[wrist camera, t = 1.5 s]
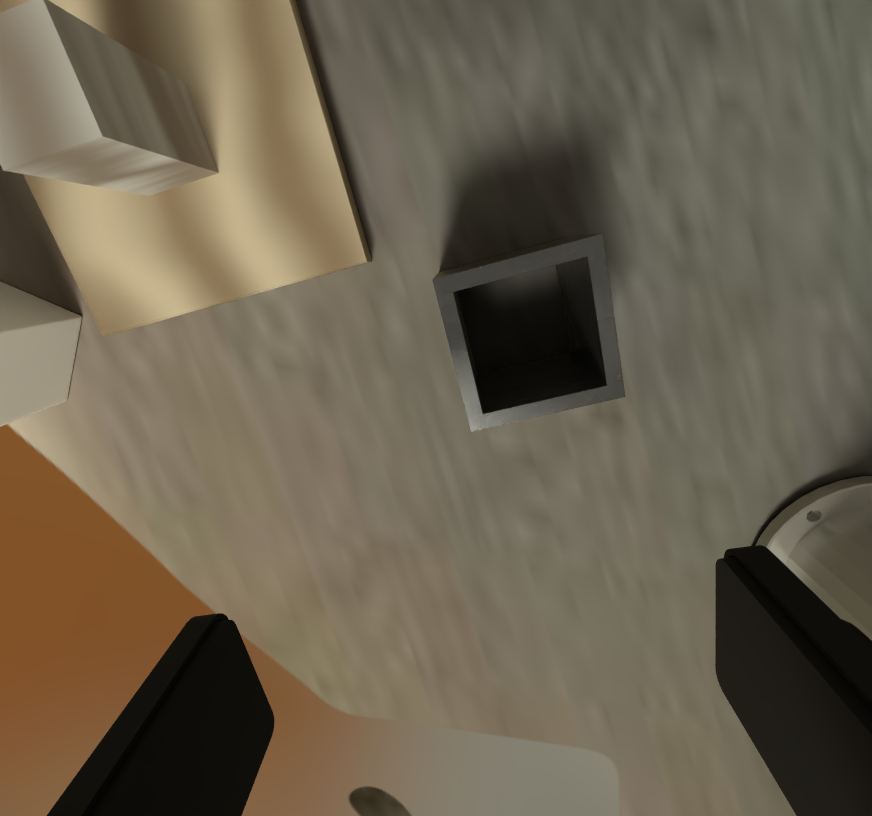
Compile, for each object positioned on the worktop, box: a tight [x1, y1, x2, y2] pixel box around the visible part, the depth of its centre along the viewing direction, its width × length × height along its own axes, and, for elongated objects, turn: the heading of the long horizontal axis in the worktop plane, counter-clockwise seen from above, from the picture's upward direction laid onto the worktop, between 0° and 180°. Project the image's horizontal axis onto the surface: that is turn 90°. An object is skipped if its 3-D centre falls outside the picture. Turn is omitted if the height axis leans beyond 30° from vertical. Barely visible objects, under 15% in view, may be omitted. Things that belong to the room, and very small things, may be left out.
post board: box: [0, 0, 372, 336], centre depth 20 cm, size 16×16×10 cm
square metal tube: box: [433, 234, 625, 431], centre depth 23 cm, size 7×7×7 cm
